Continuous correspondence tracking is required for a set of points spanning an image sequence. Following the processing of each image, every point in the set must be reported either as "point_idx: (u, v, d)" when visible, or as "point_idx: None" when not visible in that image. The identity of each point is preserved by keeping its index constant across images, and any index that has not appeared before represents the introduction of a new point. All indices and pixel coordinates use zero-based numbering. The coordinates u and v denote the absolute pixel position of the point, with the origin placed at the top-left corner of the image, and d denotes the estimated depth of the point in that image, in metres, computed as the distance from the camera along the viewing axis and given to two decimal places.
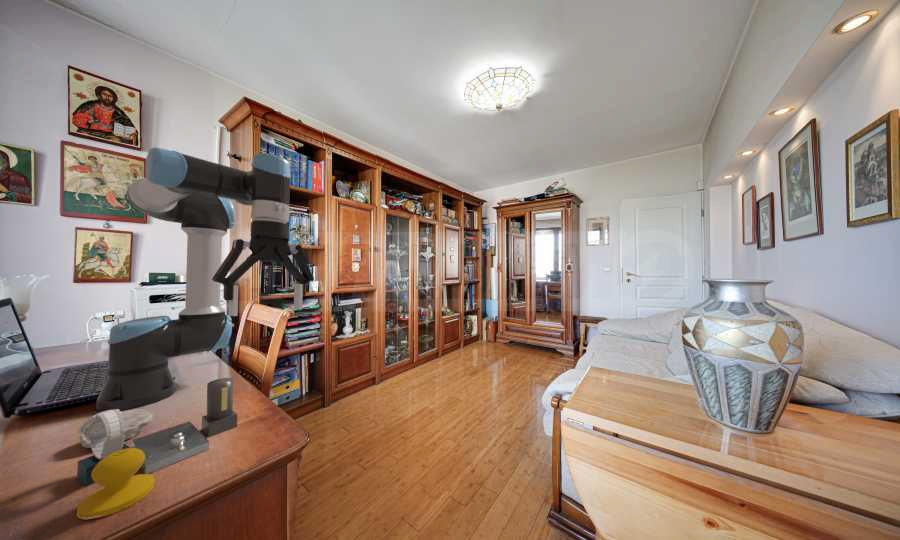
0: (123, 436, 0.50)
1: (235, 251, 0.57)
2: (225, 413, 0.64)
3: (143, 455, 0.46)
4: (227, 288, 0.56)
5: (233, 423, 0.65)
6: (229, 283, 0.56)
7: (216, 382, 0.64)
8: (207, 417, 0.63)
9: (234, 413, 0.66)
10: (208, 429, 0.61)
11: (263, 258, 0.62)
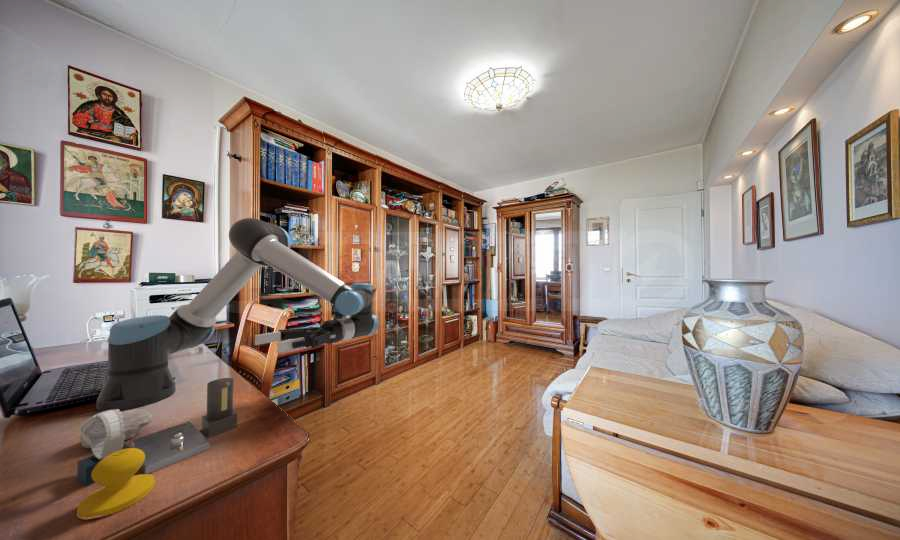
0: (123, 436, 0.50)
1: (328, 341, 0.80)
2: (225, 413, 0.64)
3: (143, 455, 0.46)
4: None
5: (233, 423, 0.65)
6: (307, 347, 0.74)
7: (216, 382, 0.64)
8: (207, 417, 0.63)
9: (234, 413, 0.66)
10: (208, 429, 0.61)
11: None
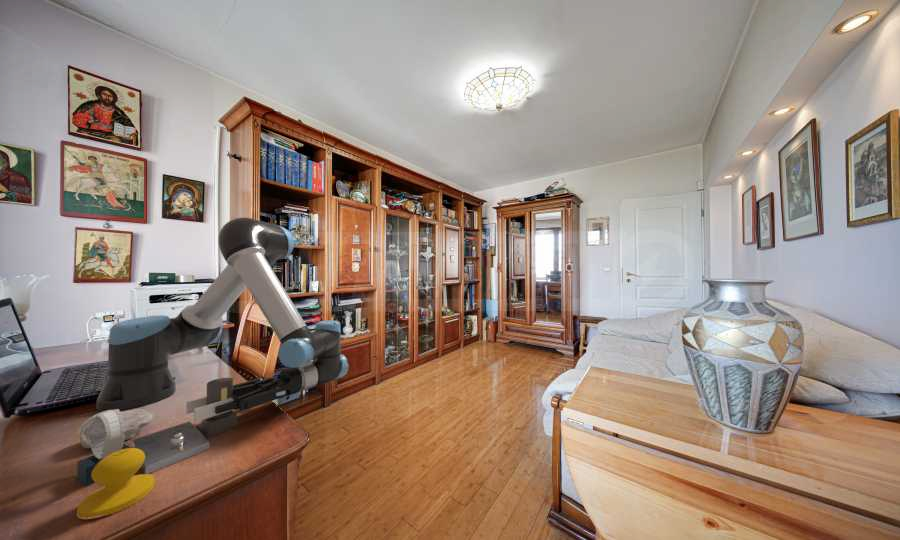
0: (123, 436, 0.50)
1: (272, 400, 0.69)
2: (225, 413, 0.64)
3: (143, 455, 0.46)
4: None
5: (233, 423, 0.65)
6: (234, 409, 0.64)
7: (215, 382, 0.64)
8: None
9: (234, 413, 0.66)
10: (208, 429, 0.61)
11: None
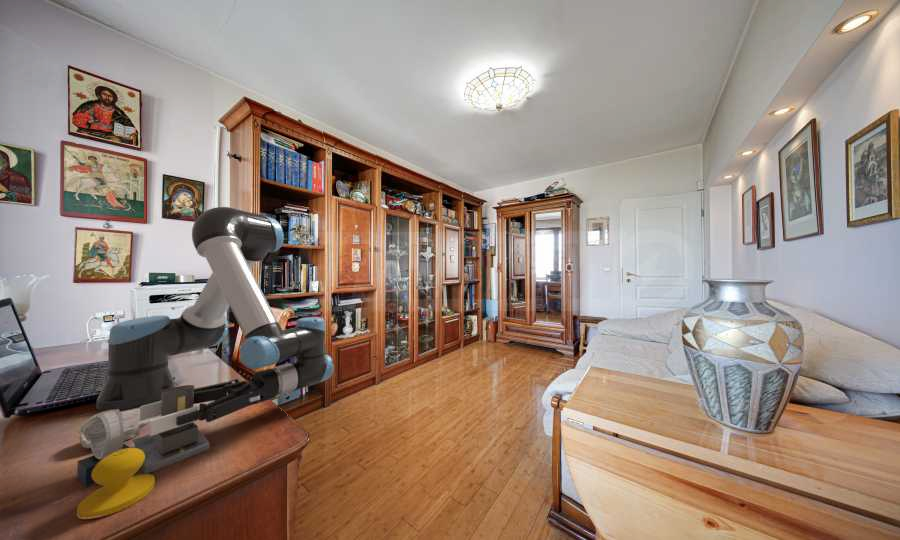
0: (123, 436, 0.50)
1: (245, 406, 0.60)
2: (183, 426, 0.55)
3: (143, 455, 0.46)
4: None
5: (193, 437, 0.56)
6: None
7: (172, 390, 0.56)
8: None
9: (194, 426, 0.57)
10: (161, 445, 0.53)
11: None
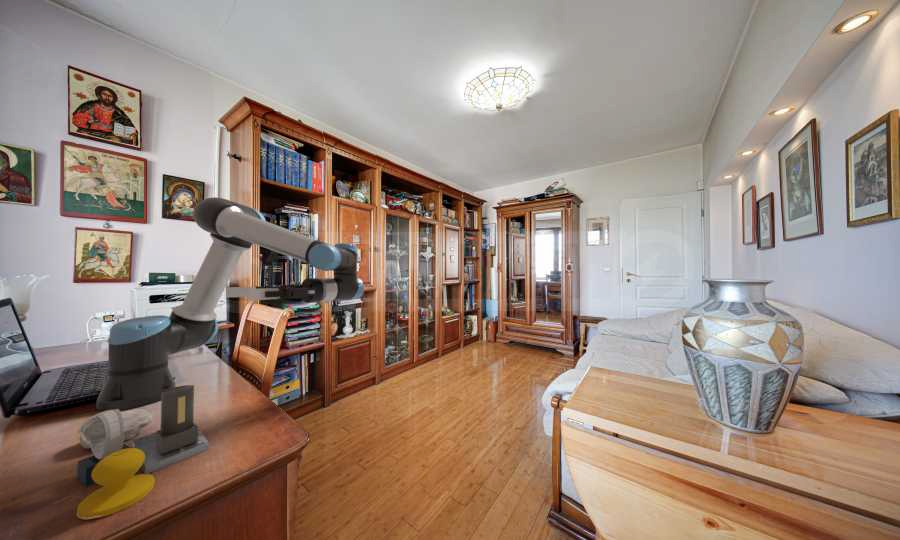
0: (123, 436, 0.50)
1: (306, 296, 0.75)
2: (183, 426, 0.55)
3: (143, 455, 0.46)
4: (277, 296, 0.68)
5: (193, 437, 0.56)
6: (281, 298, 0.69)
7: (172, 390, 0.56)
8: (161, 431, 0.54)
9: (194, 426, 0.57)
10: (161, 445, 0.53)
11: None
